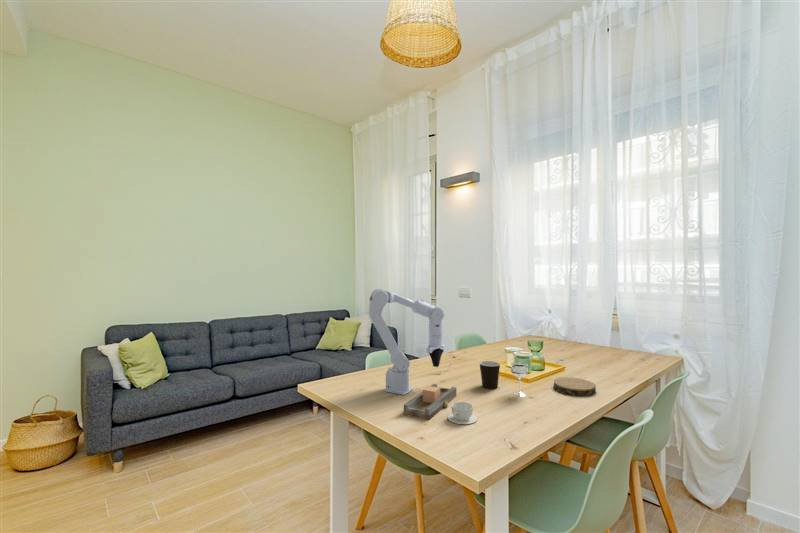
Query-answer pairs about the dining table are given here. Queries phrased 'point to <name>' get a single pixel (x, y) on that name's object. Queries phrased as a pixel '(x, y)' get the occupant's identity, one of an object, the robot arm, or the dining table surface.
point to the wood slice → (574, 386)
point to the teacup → (462, 413)
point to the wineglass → (519, 374)
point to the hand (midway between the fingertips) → (436, 366)
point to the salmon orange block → (431, 394)
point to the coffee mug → (489, 374)
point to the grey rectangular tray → (429, 404)
